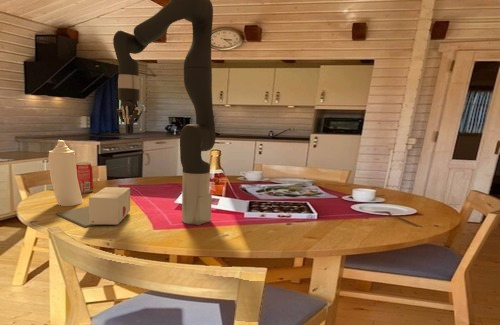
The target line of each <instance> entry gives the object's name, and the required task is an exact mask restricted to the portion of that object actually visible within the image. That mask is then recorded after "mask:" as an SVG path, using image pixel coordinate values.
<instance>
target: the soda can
mask: <svg viewBox="0 0 500 325" xmlns="http://www.w3.org/2000/svg"><path fill="white" fill-rule="evenodd" d="M76 169H77V179H78V183H79V188H80V192H81V194H87V193H88V194H89V193H91V192H92V191H93V190H94V179H93V178H94V175H93V172H94V171H93V170H94V169H93V165H92V163H91V162H88V161H87V162H76Z"/></svg>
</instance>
